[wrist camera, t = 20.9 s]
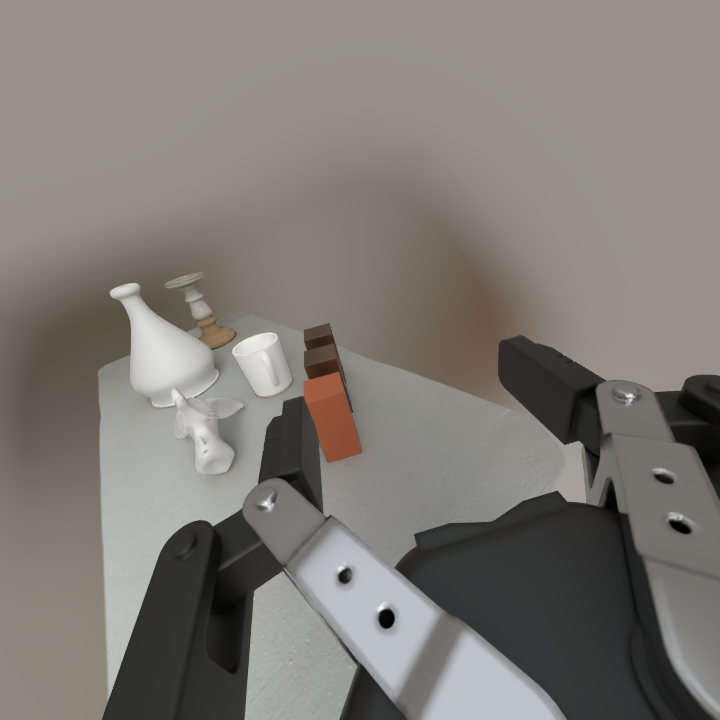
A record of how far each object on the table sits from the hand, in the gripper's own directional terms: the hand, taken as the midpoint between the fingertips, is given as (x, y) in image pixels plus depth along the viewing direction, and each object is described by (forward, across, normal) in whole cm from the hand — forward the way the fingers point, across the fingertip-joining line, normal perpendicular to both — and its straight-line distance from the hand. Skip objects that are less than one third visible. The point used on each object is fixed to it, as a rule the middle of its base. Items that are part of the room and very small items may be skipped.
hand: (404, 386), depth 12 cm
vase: (+56, +41, +25) cm, 74 cm away
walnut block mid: (+32, +6, +25) cm, 41 cm away
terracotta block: (+23, +6, +25) cm, 35 cm away
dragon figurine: (+29, +26, +25) cm, 46 cm away
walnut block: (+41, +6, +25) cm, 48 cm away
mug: (+44, +18, +25) cm, 54 cm away
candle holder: (+81, +40, +25) cm, 94 cm away
